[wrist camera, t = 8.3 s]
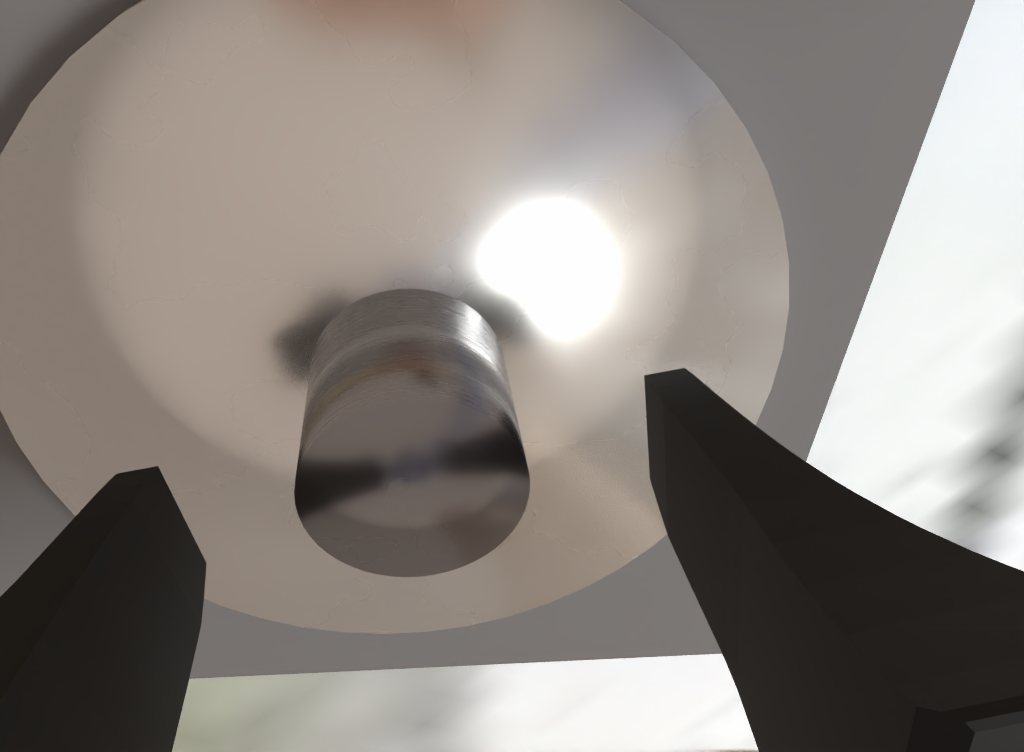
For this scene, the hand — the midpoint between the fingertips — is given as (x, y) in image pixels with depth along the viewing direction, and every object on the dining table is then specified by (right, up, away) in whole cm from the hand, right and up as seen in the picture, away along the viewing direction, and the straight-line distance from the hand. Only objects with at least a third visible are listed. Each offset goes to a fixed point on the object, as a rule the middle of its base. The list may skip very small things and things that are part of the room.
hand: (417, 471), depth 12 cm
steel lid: (0, +2, +2) cm, 3 cm away
